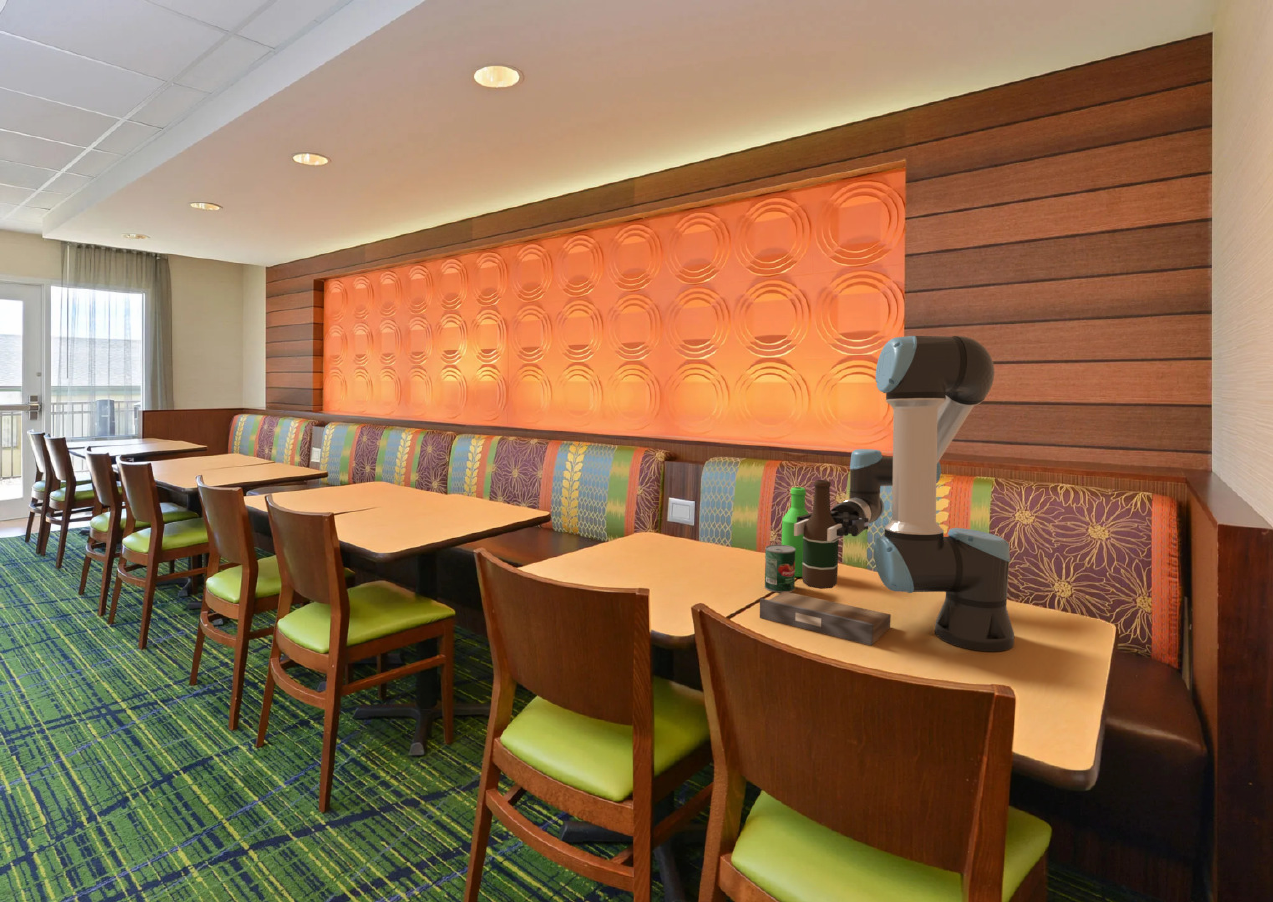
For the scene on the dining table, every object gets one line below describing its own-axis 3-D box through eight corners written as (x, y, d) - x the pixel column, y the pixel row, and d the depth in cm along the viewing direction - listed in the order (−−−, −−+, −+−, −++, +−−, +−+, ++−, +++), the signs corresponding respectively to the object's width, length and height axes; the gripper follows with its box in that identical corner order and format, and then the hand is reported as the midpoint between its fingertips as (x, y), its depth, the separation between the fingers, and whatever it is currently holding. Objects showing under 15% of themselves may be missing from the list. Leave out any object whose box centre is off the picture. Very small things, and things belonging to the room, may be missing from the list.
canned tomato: (768, 581, 178) (769, 543, 177) (797, 585, 175) (798, 546, 173) (761, 590, 171) (761, 550, 170) (791, 594, 167) (791, 553, 166)
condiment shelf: (890, 627, 145) (890, 607, 145) (870, 645, 135) (871, 625, 135) (783, 602, 161) (784, 585, 161) (759, 617, 151) (759, 599, 151)
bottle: (776, 569, 190) (778, 485, 187) (805, 568, 190) (807, 485, 188) (786, 578, 181) (788, 490, 178) (816, 577, 182) (819, 490, 179)
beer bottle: (838, 590, 143) (842, 484, 141) (802, 588, 145) (805, 482, 142) (835, 579, 151) (838, 478, 148) (801, 577, 153) (803, 477, 150)
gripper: (890, 536, 155) (856, 556, 137) (811, 524, 167) (770, 542, 149) (891, 505, 154) (857, 521, 136) (812, 496, 166) (771, 510, 149)
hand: (812, 532), depth 143 cm, fingers closed on beer bottle, 7 cm apart
